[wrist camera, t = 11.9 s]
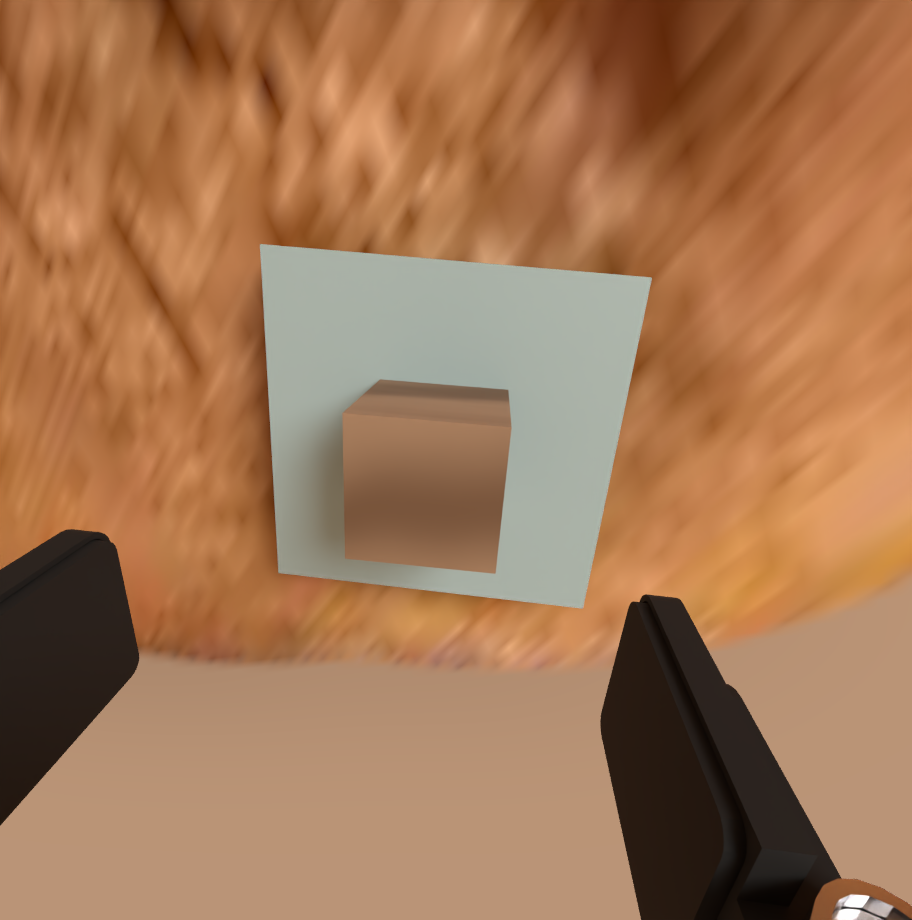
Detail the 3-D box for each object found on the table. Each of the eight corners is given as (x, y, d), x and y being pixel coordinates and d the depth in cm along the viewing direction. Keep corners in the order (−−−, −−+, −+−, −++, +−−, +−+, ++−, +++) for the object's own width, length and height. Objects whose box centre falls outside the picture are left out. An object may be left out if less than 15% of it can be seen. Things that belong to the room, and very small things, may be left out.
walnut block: (380, 379, 19) (342, 412, 15) (508, 389, 19) (511, 427, 14) (378, 495, 21) (344, 558, 16) (496, 506, 21) (495, 573, 16)
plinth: (292, 248, 21) (260, 244, 18) (630, 277, 20) (651, 277, 17) (302, 540, 26) (278, 573, 23) (573, 571, 25) (582, 608, 22)
